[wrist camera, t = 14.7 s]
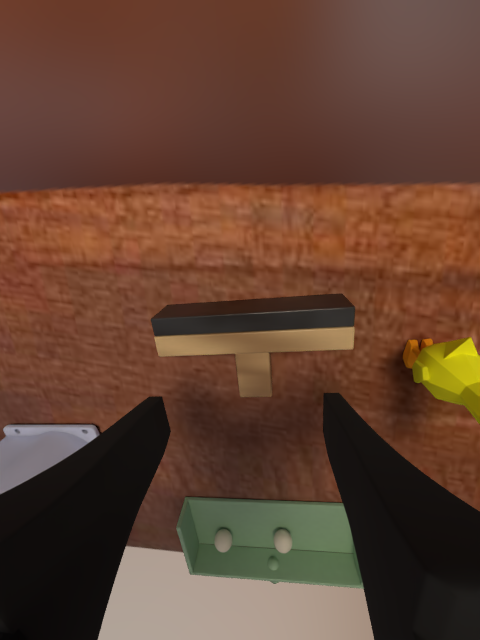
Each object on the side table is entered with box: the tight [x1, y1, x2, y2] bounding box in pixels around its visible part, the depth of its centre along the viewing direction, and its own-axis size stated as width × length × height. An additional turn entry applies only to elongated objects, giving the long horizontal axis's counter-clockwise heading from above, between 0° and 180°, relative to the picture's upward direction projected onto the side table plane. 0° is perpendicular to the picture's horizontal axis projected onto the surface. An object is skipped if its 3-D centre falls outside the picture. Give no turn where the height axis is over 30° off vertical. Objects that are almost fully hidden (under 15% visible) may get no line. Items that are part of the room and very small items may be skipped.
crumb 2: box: [274, 529, 292, 553], centre depth 25 cm, size 2×2×2 cm
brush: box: [151, 294, 355, 397], centre depth 17 cm, size 12×3×6 cm
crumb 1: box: [214, 529, 232, 552], centre depth 26 cm, size 2×2×2 cm
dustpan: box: [176, 497, 364, 589], centre depth 25 cm, size 10×17×3 cm, turn 96°
